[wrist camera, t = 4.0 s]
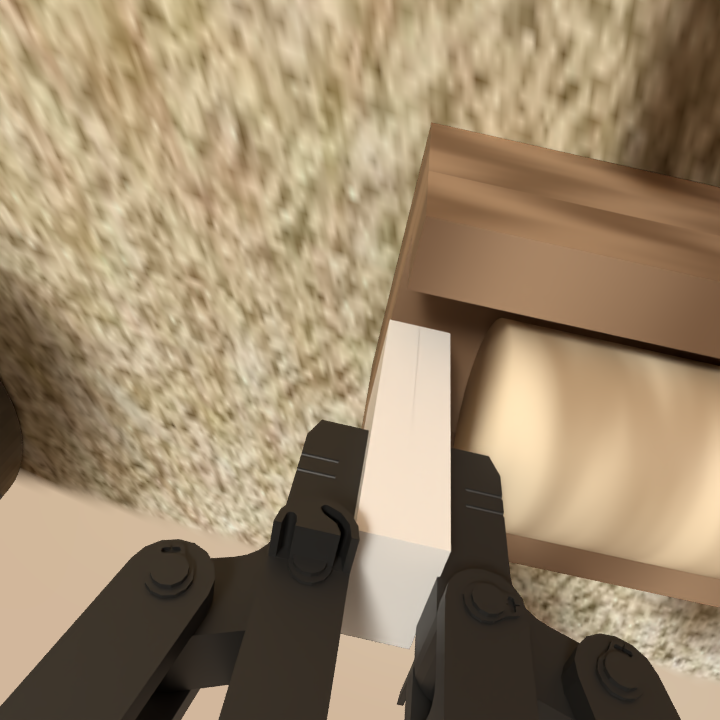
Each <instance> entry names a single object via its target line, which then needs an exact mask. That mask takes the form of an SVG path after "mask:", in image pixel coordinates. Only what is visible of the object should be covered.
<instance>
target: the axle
mask: <svg viewBox="0 0 720 720" xmlns="http://www.w3.org/2000/svg"><path fill="white" fill-rule="evenodd" d="M454 448H455V449H460V450H464V451H468V452H473V453H477V454H482V455H486V456H489V457H490V459H491V461H492V462H493V464H494V466H495V468H496V469H497V471H498V473H499V474H500V477H501V487H502V500H503V508H504V514H503V517H504V518H505V528H506V533H509V534H513V535H518V536H522V537H527V538H532V539H536V540H541V541H545V542H550V543H555V544H559V545H564V546H569V547H573V548H578V549H582V550H587V551H592V552H596V553H601V554H605V555H610V556H615V557H619V558H624V559H628V560H633V561H638V562H642V563H647V564H651V565H656V566H661V567H665V568H670V569H674V570H679V571H684V572H688V573H693V574H697V575H702V576H707V577H711V578H716V579H720V366H717V365H713V364H708V363H704V362H699V361H695V360H690V359H686V358H681V357H677V356H672V355H668V354H663V353H659V352H654V351H650V350H645V349H641V348H636V347H632V346H627V345H622V344H618V343H613V342H609V341H604V340H600V339H595V338H591V337H586V336H582V335H577V334H573V333H568V332H564V331H559V330H555V329H550V328H546V327H541V326H537V325H532V324H528V323H523V322H519V321H514V320H510V319H505V318H499V319H498V320H496V321H495V322H494V323H493V324H492V325H491V327H490V328H489V330H488V331H487V333H486V335H485V337H484V339H483V341H482V343H481V345H480V347H479V350H478V352H477V355H476V357H475V360H474V363H473V366H472V368H471V371H470V375H469V378H468V381H467V385H466V388H465V392H464V396H463V400H462V404H461V409H460V413H459V418H458V423H457V428H456V434H455V441H454Z"/></svg>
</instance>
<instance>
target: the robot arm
mask: <svg viewBox="0 0 720 720" xmlns="http://www.w3.org/2000/svg"><path fill="white" fill-rule="evenodd" d="M22 452H23V449H22V435H21V429H20V425H19V421H18V418H17V414H16V412H15V409H14V407H13V404H12V402H11V400H10V398H9V395H8V393H7V391H6V390H5V388H4V386H3V384H2V382H1V381H0V499H1V498H2V497H3V496H4V494H5V493H6V492H7V491H8V489H9V488H10V487H11V485H12V484H13V482H14V481H15V479H16V477H17V475H18V472H19V469H20V465H21V461H22ZM503 514H504V508H503V500H502V487H501V477H500V474H499V473H498V471H497V469H496V468H495V466H494V464H493V462H492V461H491V459H490V457H489V456H486V455H482V454H477V453H473V452H468V451H464V450H460V449H455V448H451V426H450V333H447V332H443V331H438V330H434V329H429V328H425V327H421V326H416V325H412V324H407V323H403V322H399V321H394V320H390V321H389V325H388V329H387V333H386V337H385V341H384V345H383V349H382V353H381V357H380V361H379V365H378V369H377V373H376V377H375V380H374V384H373V388H372V392H371V396H370V400H369V404H368V409H367V415H366V420H365V425H364V429H360V428H356V427H352V426H347V425H343V424H338V423H334V422H330V421H325V420H321V421H320V422H319V423H318V424H317V425H316V426H315V427H314V428H313V429H312V430H311V431H310V432H309V433H308V434H307V437H306V441H305V444H304V447H303V451H302V455H301V457H300V461H299V464H298V467H297V471H296V474H295V477H294V481H293V484H292V487H291V491H290V494H289V497H288V501H287V504H286V505H285V506H284V507H283V508H281V509H280V511H279V513H278V514H277V516H276V518H275V519H274V522H273V528H272V534H271V540H270V542H269V543H268V544H267V545H265V546H264V547H263V548H261V549H260V550H258V551H255V552H253V553H250V554H248V555H243V556H237V557H225V558H210V556H209V555H208V553H207V552H206V551H205V550H203V549H202V548H200V547H199V546H198V545H196V544H195V543H191V542H187V541H184V540H179V539H177V540H161V541H159V542H156V543H154V544H151V545H148V546H145V547H144V548H143V549H142V550H140V551H139V552H138V553H137V554H135V555H134V556H133V557H132V558H131V559H130V560H129V561H128V562H127V563H126V564H125V566H124V567H123V568H122V569H121V570H120V571H119V572H118V574H117V575H116V576H115V577H114V578H113V579H112V581H111V582H110V583H109V584H108V585H107V586H106V587H105V588H104V589H103V591H102V592H101V593H100V594H99V595H98V596H97V597H96V598H95V600H94V601H93V602H92V603H91V604H90V605H89V607H88V608H87V609H86V610H85V611H84V612H83V613H82V614H81V616H80V617H79V618H78V619H77V620H76V621H75V622H74V624H73V625H72V626H71V627H70V628H69V629H68V630H67V632H66V633H65V634H64V635H63V636H62V637H61V638H60V639H59V641H58V642H57V643H56V644H55V645H54V646H53V647H52V648H51V650H50V651H49V652H48V653H47V654H46V655H45V656H44V657H43V659H42V660H41V661H40V662H39V663H38V664H37V666H36V667H35V668H34V669H33V670H32V671H31V672H30V673H29V675H28V676H27V677H26V678H25V679H24V680H23V682H21V684H20V685H19V686H18V687H17V688H16V689H15V690H14V692H13V693H12V694H11V695H10V696H9V697H8V698H7V700H6V701H5V702H4V703H3V704H2V705H1V706H0V720H181V719H182V717H183V716H184V714H185V712H186V711H187V709H188V707H189V706H190V704H191V702H192V701H193V699H194V698H195V696H196V694H197V693H198V691H199V689H200V688H207V687H215V686H222V685H229V687H228V690H227V693H226V697H225V700H224V703H223V707H222V710H221V713H220V717H219V720H327V714H328V708H329V702H330V696H331V690H332V683H333V677H334V671H335V664H336V658H337V651H338V646H339V639H340V634H344V635H348V636H353V637H358V638H362V639H366V640H371V641H375V642H379V643H384V644H388V645H393V646H397V647H401V648H406V649H410V647H411V644H412V642H413V639H414V637H415V635H416V639H415V659H414V662H413V664H412V667H411V669H410V671H409V673H408V675H407V678H406V680H405V683H404V685H403V687H402V689H401V691H400V695H399V698H398V702H397V704H398V705H402V706H403V705H404V703H405V701H406V704H405V720H681V719H680V717H679V715H678V713H677V711H676V709H675V707H674V705H673V703H672V701H671V699H670V697H669V695H668V694H667V691H666V690H665V688H664V685H663V683H662V682H661V680H660V678H659V676H658V674H657V673H656V671H655V670H654V668H653V667H652V665H651V664H650V662H649V661H648V659H647V658H646V657H645V656H644V655H642V654H641V653H640V652H639V651H638V650H637V649H636V648H635V647H633V646H632V645H631V644H629V643H627V642H625V641H623V640H621V639H619V638H617V637H615V636H610V635H605V634H595V635H591V636H587V637H586V638H585V639H584V640H583V641H582V642H581V643H578V642H576V641H575V640H573V639H571V638H569V637H567V636H565V635H563V634H562V633H560V632H558V631H556V630H554V629H552V628H550V627H549V626H547V625H545V624H544V623H542V622H541V621H539V620H538V619H536V618H535V617H534V616H533V615H532V614H531V613H530V612H529V611H528V610H527V609H526V608H525V606H524V603H523V600H522V598H521V597H520V595H519V594H518V593H517V591H516V590H515V588H514V587H513V586H512V582H511V578H510V568H509V558H508V548H507V538H506V528H505V518H504V517H503Z"/></svg>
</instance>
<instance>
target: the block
mask: <svg viewBox="0 0 720 720" xmlns="http://www.w3.org/2000/svg"><path fill="white" fill-rule="evenodd" d="M499 318H505V319H510V320H514V321H519V322H523V323H528V324H532V325H537V326H541V327H546V328H550V329H555V330H559V331H564V332H568V333H573V334H577V335H582V336H586V337H591V338H595V339H600V340H604V341H609V342H613V343H618V344H622V345H627V346H632V347H636V348H641V349H645V350H650V351H654V352H659V353H663V354H668V355H672V356H677V357H681V358H686V359H690V360H695V361H699V362H704V363H708V364H713V365H717V366H720V187H716V186H711V185H707V184H702V183H698V182H693V181H689V180H685V179H680V178H676V177H671V176H667V175H662V174H658V173H653V172H649V171H645V170H640V169H636V168H631V167H627V166H622V165H618V164H614V163H609V162H605V161H600V160H596V159H591V158H587V157H582V156H578V155H574V154H569V153H565V152H560V151H556V150H551V149H547V148H542V147H538V146H534V145H529V144H525V143H520V142H516V141H511V140H507V139H502V138H498V137H494V136H489V135H485V134H480V133H476V132H471V131H467V130H463V129H458V128H454V127H449V126H445V125H440V124H436V123H431V127H430V131H429V135H428V139H427V143H426V147H425V151H424V155H423V159H422V164H421V168H420V172H419V176H418V180H417V184H416V188H415V192H414V196H413V200H412V205H411V209H410V213H409V217H408V221H407V225H406V229H405V233H404V237H403V241H402V246H401V250H400V254H399V258H398V262H397V266H396V270H395V274H394V278H393V283H392V287H391V291H390V295H389V299H388V303H387V307H386V311H385V315H384V319H383V324H382V328H381V332H380V336H379V340H378V344H377V348H376V352H375V356H374V360H373V365H372V371H371V376H370V382H369V388H368V394H367V400H366V406H365V412H364V418H363V424H362V429H364V425H365V420H366V415H367V409H368V404H369V400H370V396H371V392H372V388H373V384H374V380H375V377H376V373H377V369H378V365H379V361H380V357H381V353H382V349H383V345H384V341H385V337H386V333H387V329H388V325H389V321H390V320H394V321H399V322H403V323H407V324H412V325H416V326H421V327H425V328H429V329H434V330H438V331H443V332H447V333H450V426H451V448H454V441H455V434H456V428H457V423H458V418H459V413H460V409H461V404H462V400H463V396H464V392H465V388H466V385H467V381H468V378H469V375H470V371H471V368H472V366H473V363H474V360H475V357H476V355H477V352H478V350H479V347H480V345H481V343H482V341H483V339H484V337H485V335H486V333H487V331H488V330H489V328H490V327H491V325H492V324H493V323H494V322H495V321H496V320H498V319H499ZM506 538H507V548H508V558H509V562H512V563H517V564H521V565H526V566H531V567H535V568H540V569H544V570H549V571H554V572H558V573H563V574H567V575H572V576H577V577H581V578H586V579H591V580H595V581H600V582H604V583H609V584H614V585H618V586H623V587H627V588H632V589H637V590H641V591H646V592H650V593H655V594H660V595H664V596H669V597H674V598H678V599H683V600H687V601H692V602H697V603H701V604H706V605H710V606H715V607H720V579H716V578H711V577H707V576H702V575H697V574H693V573H688V572H684V571H679V570H674V569H670V568H665V567H661V566H656V565H651V564H647V563H642V562H638V561H633V560H628V559H624V558H619V557H615V556H610V555H605V554H601V553H596V552H592V551H587V550H582V549H578V548H573V547H569V546H564V545H559V544H555V543H550V542H545V541H541V540H536V539H532V538H527V537H522V536H518V535H513V534H509V533H506Z"/></svg>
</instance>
